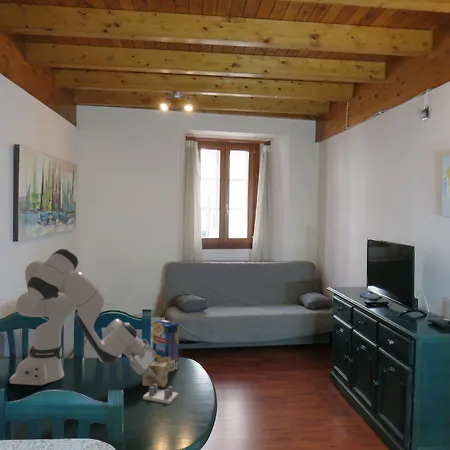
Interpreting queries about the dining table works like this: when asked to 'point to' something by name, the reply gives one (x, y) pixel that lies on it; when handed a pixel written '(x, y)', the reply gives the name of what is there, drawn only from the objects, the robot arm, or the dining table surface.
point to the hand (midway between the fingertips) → (156, 372)
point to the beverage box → (166, 343)
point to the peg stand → (160, 394)
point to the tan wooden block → (160, 376)
